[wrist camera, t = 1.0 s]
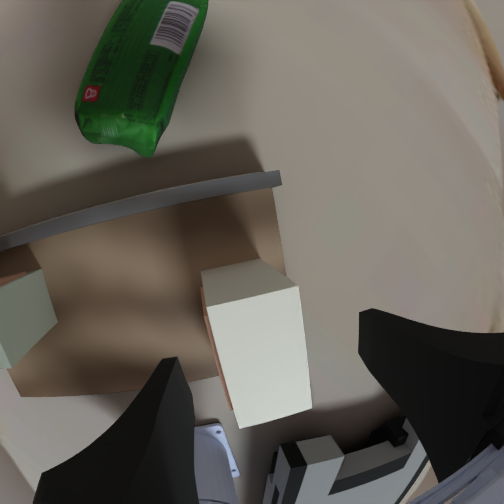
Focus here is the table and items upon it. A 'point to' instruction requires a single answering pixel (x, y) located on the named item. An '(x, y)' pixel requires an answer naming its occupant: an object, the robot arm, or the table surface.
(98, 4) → the table surface
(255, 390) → the cream carton
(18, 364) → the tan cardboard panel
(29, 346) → the sage carton
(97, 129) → the snack package
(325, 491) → the game console
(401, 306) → the table surface
